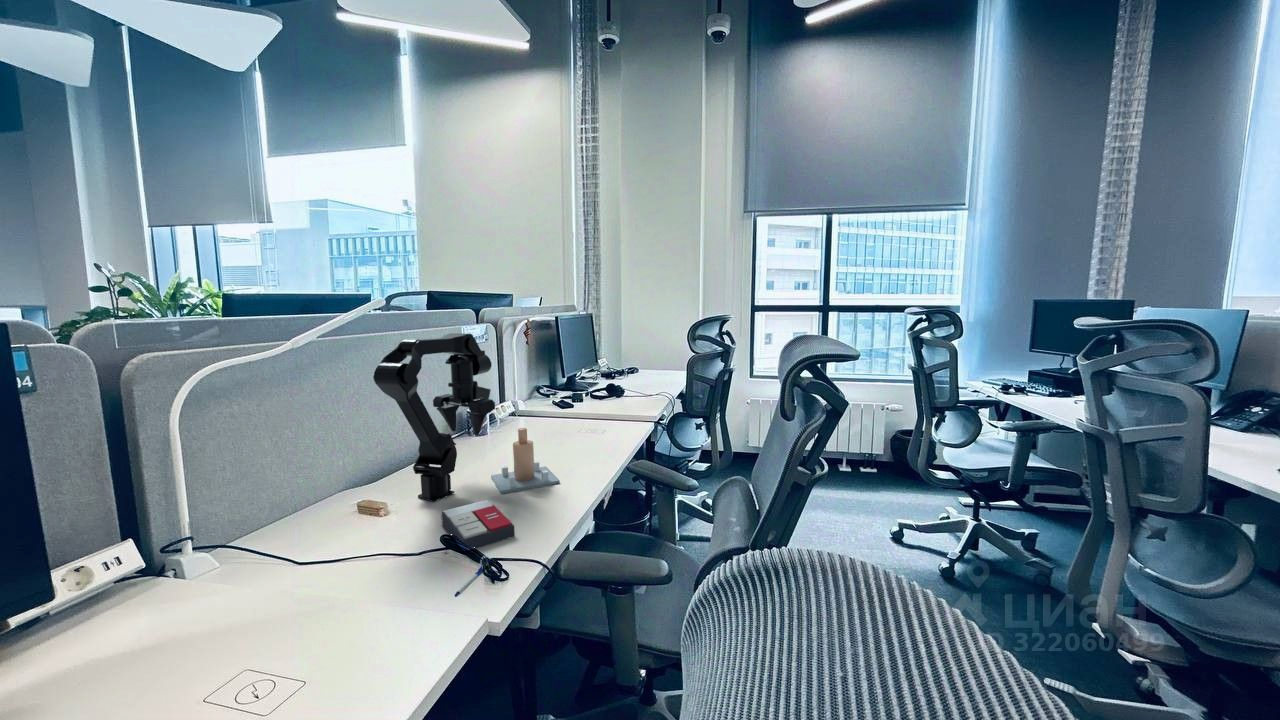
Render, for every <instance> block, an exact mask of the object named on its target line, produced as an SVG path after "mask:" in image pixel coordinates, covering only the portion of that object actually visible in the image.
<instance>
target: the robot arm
mask: <svg viewBox="0 0 1280 720" xmlns="http://www.w3.org/2000/svg"><path fill="white" fill-rule="evenodd" d="M433 354H450V356H449V357H448V358H447V359H446V360H445V364H446V365H450V377H451V379H450V380H451V382H448V383H447V384H448V387H449V388H451V393H447V394H441V395H437V396H435V397H434V398H433V400H432V406H433V407H434V408H436V411H438V412H439V413H440V414H441V416H442V417H443V419H444V421H445V423H446V424H447V425H448V427H449V429H450V430H451V432H456V430H457V411H458V409H459V407H464V408H468V410H469V413H468V416H469V420H470V423H471V428H472V431H473V433H474V434H473V435H474V436H475V437H476V436H479V435H480V433H481V429H482V426H483V423H484V420H485V418H486V416H487V415H488V414H490V413H492V411H494V410H496V402H495V401H494V400H493V399H490V396H491V395H490V394H491V388H486V387H483V386H479V384H478V381H477V380H474V376H478V375H482V374H485V373H488V372H490V370H491V369H492V361H491V359H490V357H489V356H488V355H487V354H486V352H485V350H481V348H480V346H479V344H478V342H477V340H476V339H475V337H474V335H473V334H472V333H457V332H456V333H454V332H451V333H447V334H445V335H443V336H441V337H437V338H422V339H421V338H420V339H418V338H417V339H416V338H414V339H413V338H405V339H403V340H401V341H400V342H399V344H398V345H397V346H396V347H395V348H394V349H393V350H392V351H390V352H389V353H388V354H386V355H385V356H384V357H383V358H382V360H381V361H380V363H379V364H378V365H377V366H376V368H375V369H374V373H373V381H374V384H376V386H377V387H378V388H379V389H380V390H381V391H382V393H384V394H385V395H387V396H388V397H390V398H392V399H393V400H394V401H395V402H396V404H397V405H398V407H399V408H400V410H401V413H402V414H403V415H404V417H405V419H406V420H407V422H408V424H409V425H410V427H411V429H412V431H413V432H414V434H415V436H416V438H417V439H418V441H419V445H418V449H417V450H418V457H417V459H416V460H415V463H414V464H413V466H412V469H413V472H414V475H420V487H421V489H420V490H421V493H420V494H418V495H417V498H419V499H422V500H427V501H429V502H433V503H434V502H435V503H436V502H437V501H439V500H442V499H444V498H446V497H449V496H452V495H454V494H455V491H454V490H451V489H452V483H451V473H453V472H455V468H456V464H457V456H458V449H457V448H456V446H457V443H456V442H455V441H454V440H453V437H452V434H450V433H446V432H445V433H444V432H440V431H439V430H438V428H437V426H436V424H435V422H434V420H433V418H432V417H431V415H430V413H429V412H428V409H427V407H426V406H425V404H424V402H423V401H422V399H421V397H420V395H419V393H418V391H417V390H418V385H419V379H418V374H419V373H420V371H421V370H422V366H423V365H422V358H423V356H425V355H433ZM407 357H411V359H410V360H409V362H408V363H404V362H403V361H405V359H406V358H407ZM432 465H433V466H432Z"/></svg>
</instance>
